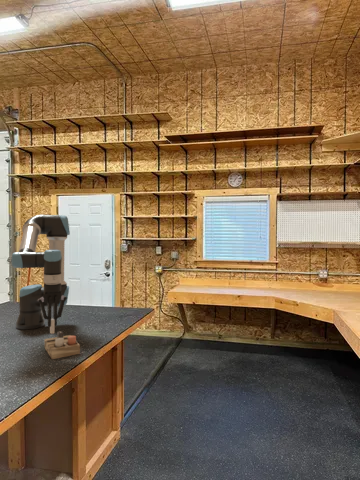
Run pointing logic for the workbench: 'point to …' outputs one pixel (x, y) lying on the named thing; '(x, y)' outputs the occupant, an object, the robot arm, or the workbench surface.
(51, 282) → the robot arm
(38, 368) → the workbench surface
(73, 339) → the button
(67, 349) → the console
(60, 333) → the fader knob
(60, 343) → the button
